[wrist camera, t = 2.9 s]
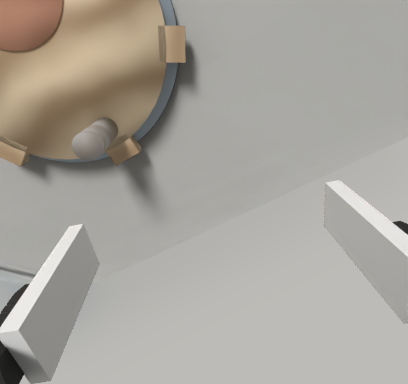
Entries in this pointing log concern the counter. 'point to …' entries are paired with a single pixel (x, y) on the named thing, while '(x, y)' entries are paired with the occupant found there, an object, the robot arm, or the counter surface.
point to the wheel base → (163, 97)
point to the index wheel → (81, 75)
